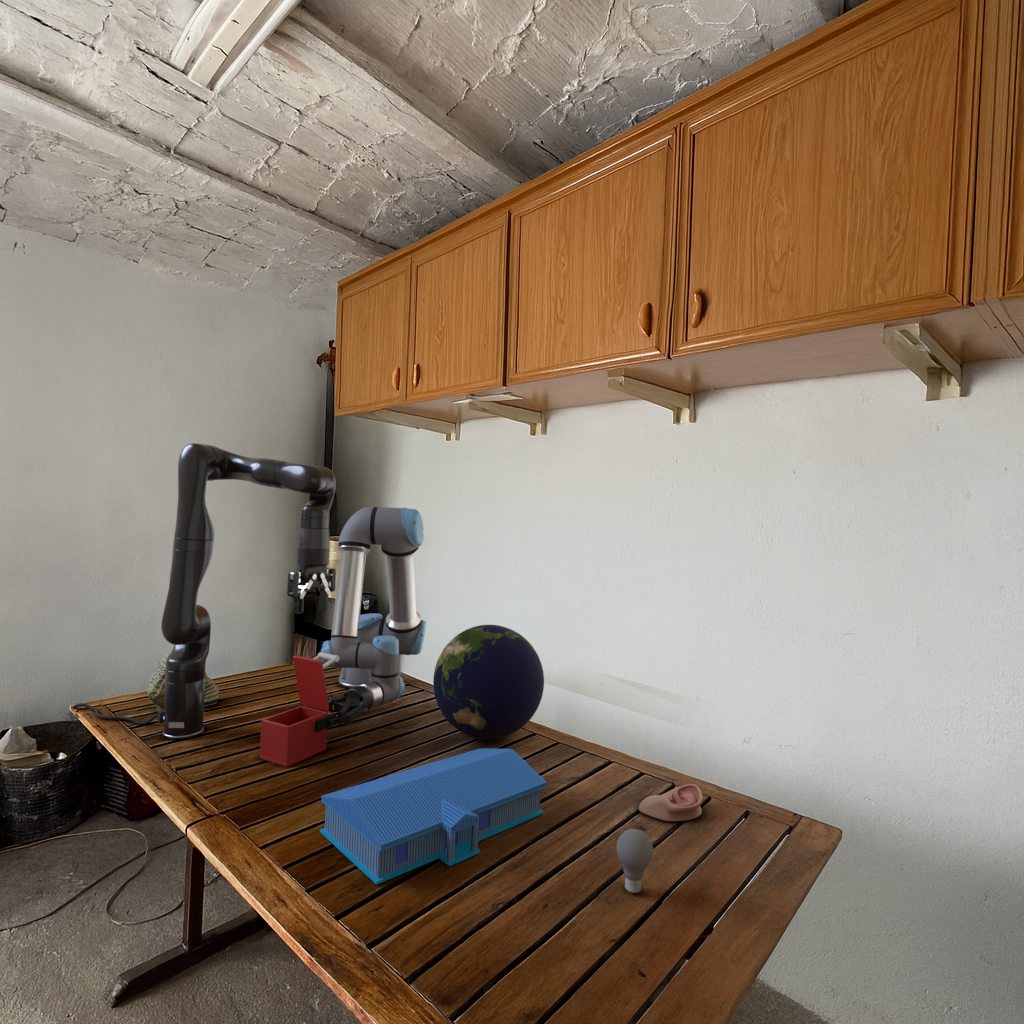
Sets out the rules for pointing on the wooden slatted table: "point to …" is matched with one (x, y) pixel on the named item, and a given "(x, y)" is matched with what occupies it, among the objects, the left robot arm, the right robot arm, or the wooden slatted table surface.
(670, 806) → the anatomical model
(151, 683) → the fossil
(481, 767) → the model building
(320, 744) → the chest
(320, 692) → the lid
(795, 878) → the wooden slatted table surface
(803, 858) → the wooden slatted table surface
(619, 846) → the light bulb
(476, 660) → the globe
